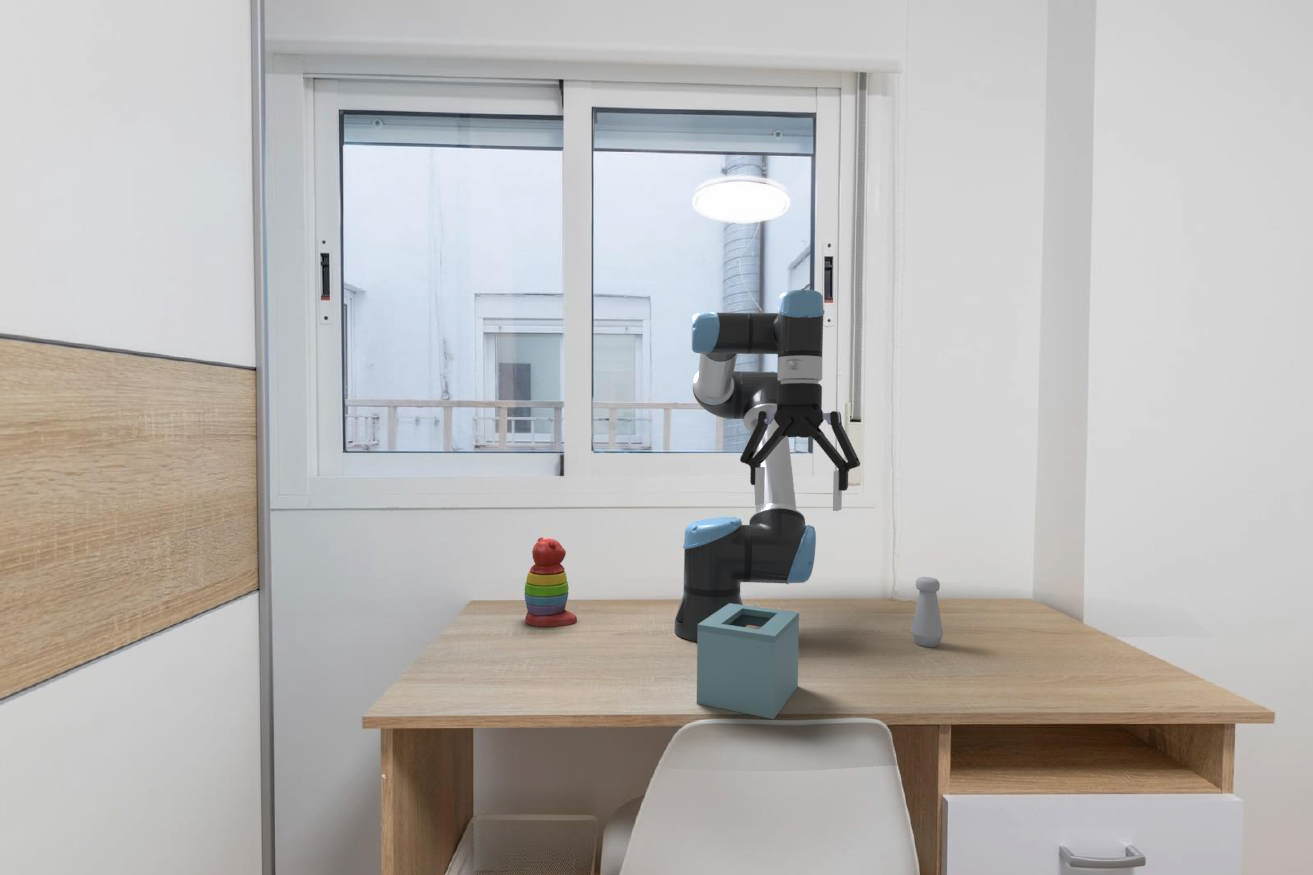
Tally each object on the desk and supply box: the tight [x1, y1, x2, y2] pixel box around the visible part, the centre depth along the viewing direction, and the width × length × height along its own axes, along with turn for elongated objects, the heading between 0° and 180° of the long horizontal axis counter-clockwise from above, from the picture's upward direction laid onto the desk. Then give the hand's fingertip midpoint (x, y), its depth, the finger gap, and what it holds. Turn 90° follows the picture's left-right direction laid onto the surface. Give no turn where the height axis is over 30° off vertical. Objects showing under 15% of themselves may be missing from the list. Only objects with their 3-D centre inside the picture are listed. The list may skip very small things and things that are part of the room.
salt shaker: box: [910, 576, 944, 648], centre depth 129 cm, size 6×6×13 cm
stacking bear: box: [523, 536, 578, 627], centre depth 142 cm, size 11×10×18 cm
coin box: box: [696, 603, 800, 720], centre depth 104 cm, size 12×14×12 cm
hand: (797, 507), depth 113 cm, fingers open, 13 cm apart
